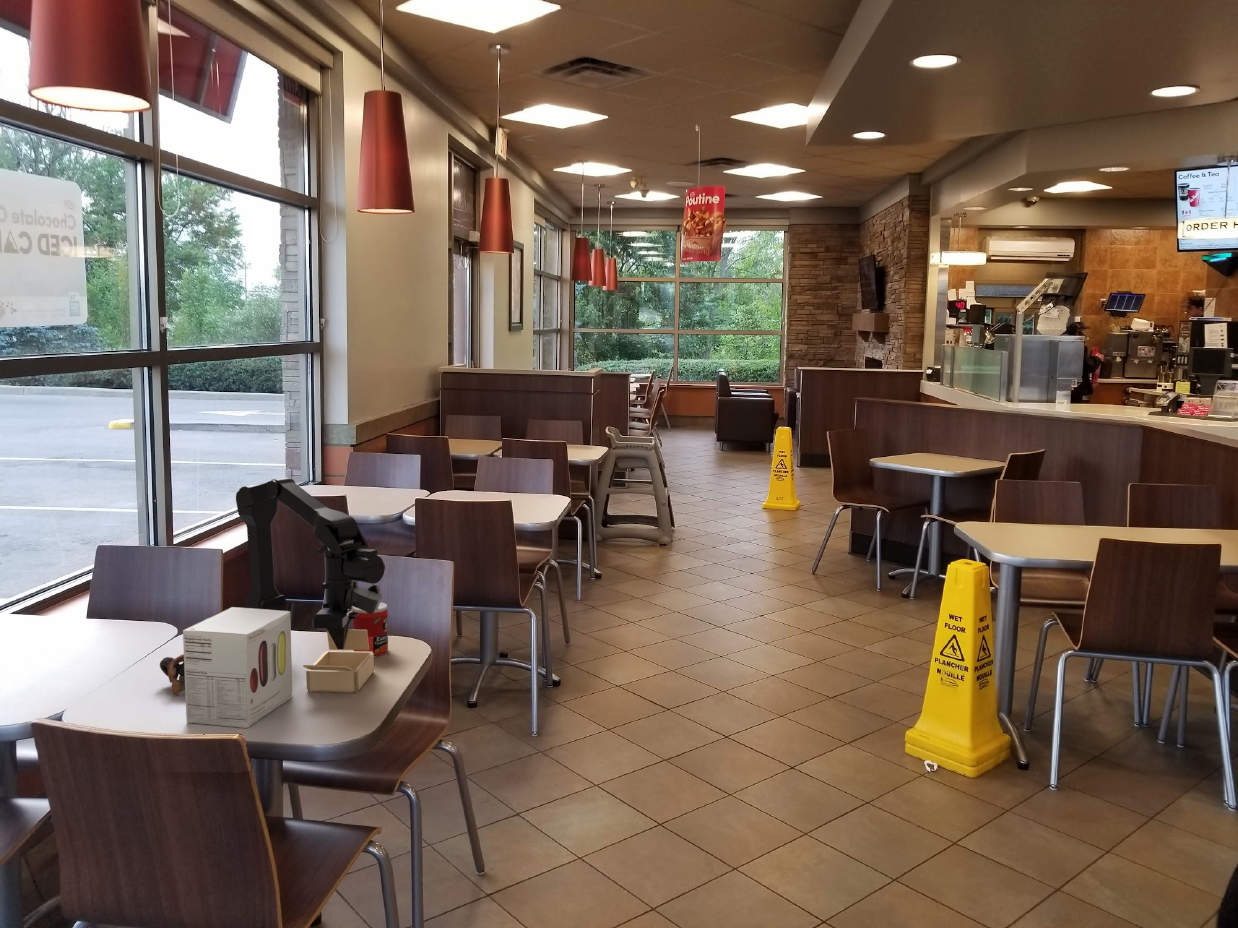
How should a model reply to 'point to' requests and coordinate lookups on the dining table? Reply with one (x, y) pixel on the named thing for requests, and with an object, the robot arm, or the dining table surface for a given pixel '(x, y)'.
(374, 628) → the canned food
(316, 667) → the near flap
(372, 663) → the carton
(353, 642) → the far flap
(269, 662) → the supplement box
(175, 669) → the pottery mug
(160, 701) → the dining table surface
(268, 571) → the robot arm
